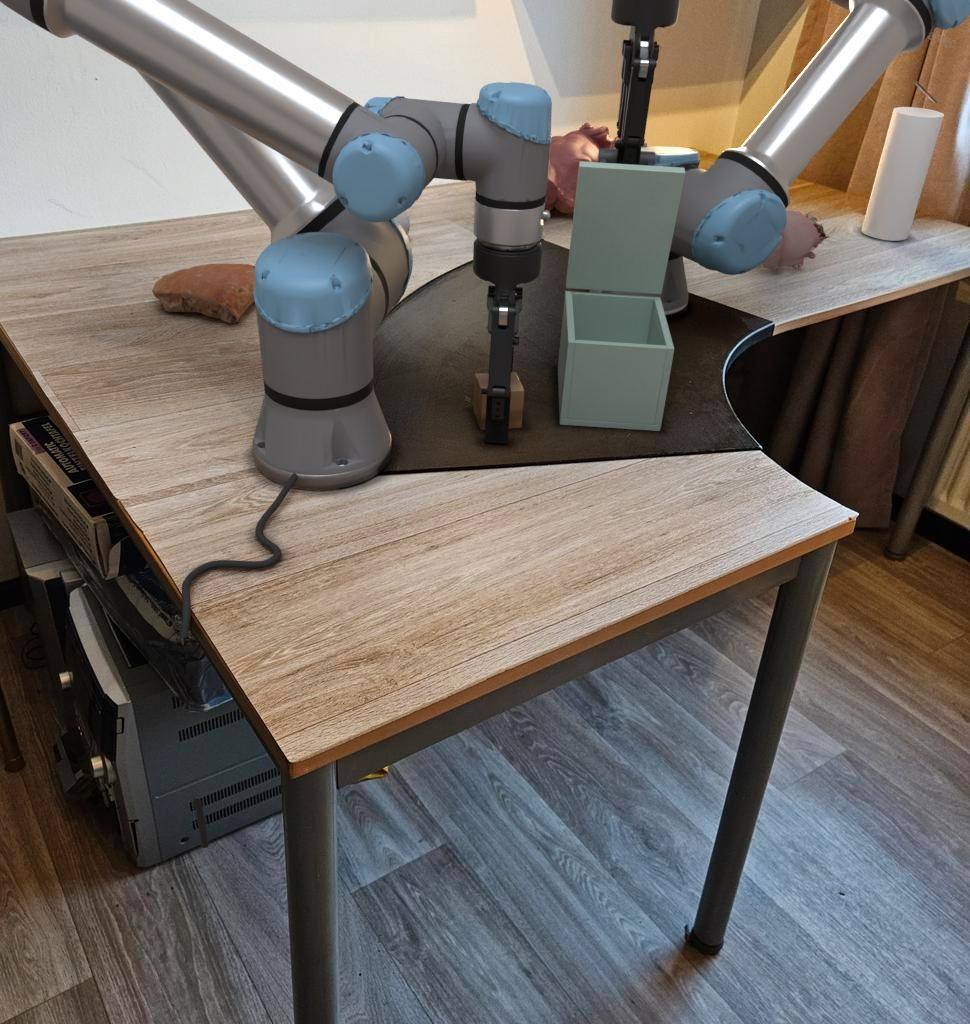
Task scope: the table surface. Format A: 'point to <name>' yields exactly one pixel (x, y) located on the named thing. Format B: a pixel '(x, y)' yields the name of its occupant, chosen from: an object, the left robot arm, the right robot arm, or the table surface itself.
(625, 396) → the chest
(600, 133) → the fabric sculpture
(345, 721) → the table surface
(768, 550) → the table surface
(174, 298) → the ceramic shard
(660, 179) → the lid
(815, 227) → the toy
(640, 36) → the right robot arm
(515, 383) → the block
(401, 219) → the electric motor
